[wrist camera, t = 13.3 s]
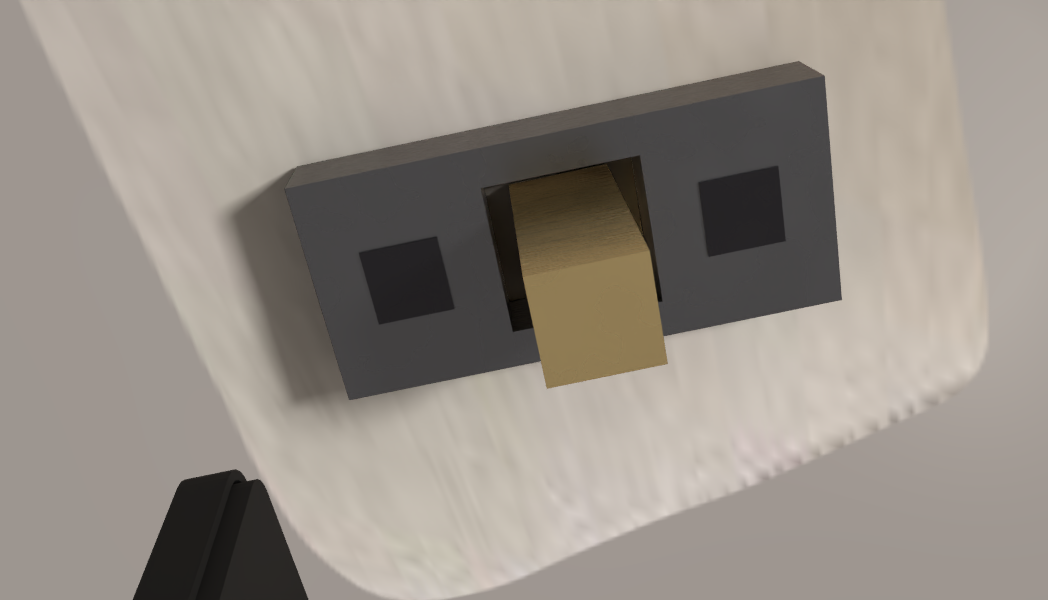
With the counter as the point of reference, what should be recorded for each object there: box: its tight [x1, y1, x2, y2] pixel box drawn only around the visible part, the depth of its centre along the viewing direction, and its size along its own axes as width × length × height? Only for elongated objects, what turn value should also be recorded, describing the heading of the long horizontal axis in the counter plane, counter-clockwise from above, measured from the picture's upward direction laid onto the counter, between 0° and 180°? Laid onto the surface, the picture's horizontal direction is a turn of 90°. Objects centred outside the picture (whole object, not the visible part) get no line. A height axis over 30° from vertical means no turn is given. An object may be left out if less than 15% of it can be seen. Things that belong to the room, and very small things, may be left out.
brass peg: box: [509, 164, 668, 388], centre depth 36 cm, size 4×4×10 cm
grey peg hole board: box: [285, 61, 842, 400], centre depth 40 cm, size 9×20×3 cm, turn 101°
